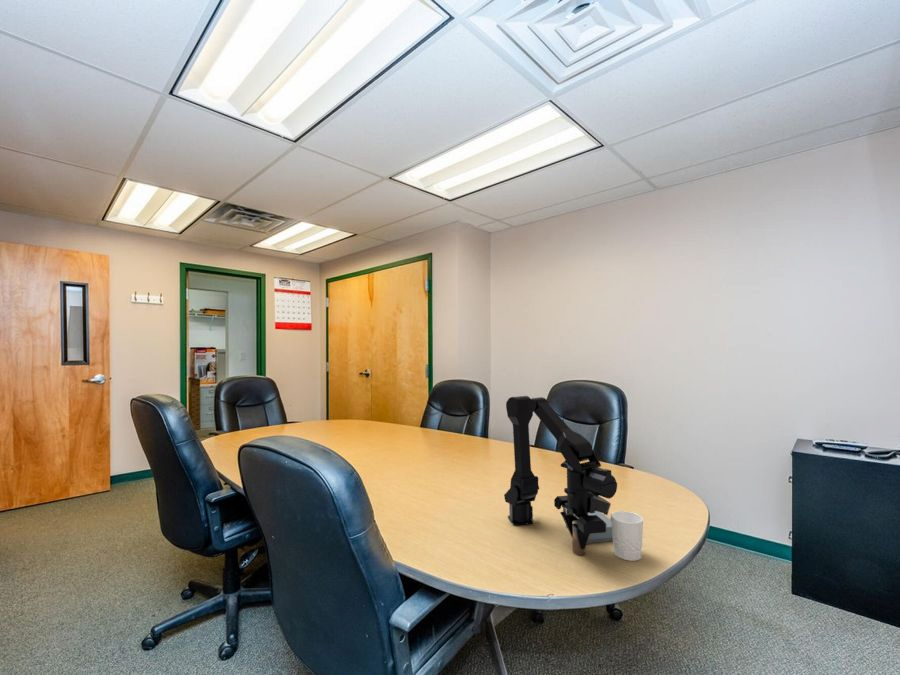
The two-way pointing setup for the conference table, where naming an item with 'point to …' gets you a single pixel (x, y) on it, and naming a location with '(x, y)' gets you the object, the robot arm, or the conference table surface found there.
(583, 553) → the pin
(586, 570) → the conference table surface
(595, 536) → the socket block
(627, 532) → the white cup
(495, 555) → the conference table surface
